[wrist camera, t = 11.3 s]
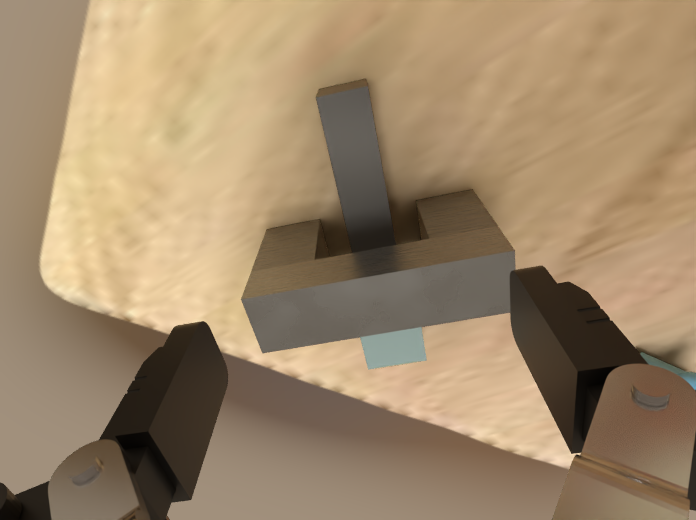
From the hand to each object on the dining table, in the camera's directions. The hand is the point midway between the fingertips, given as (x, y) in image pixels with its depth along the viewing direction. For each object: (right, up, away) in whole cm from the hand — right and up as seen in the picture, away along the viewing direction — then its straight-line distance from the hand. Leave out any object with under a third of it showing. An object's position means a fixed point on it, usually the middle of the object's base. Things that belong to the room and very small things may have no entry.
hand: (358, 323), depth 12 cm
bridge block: (+2, +4, +21) cm, 21 cm away
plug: (+2, +4, +21) cm, 21 cm away
